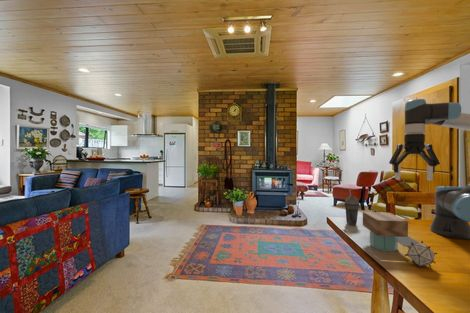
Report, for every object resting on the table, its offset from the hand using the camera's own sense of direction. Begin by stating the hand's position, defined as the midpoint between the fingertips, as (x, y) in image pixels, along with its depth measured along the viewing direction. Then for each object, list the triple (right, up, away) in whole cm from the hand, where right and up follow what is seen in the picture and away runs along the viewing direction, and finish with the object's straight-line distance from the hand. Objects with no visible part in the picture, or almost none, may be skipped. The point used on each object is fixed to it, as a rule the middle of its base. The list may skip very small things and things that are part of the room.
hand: (413, 180), depth 107 cm
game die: (-18, -27, -26) cm, 42 cm away
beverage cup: (-19, -26, +19) cm, 38 cm away
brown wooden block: (-21, -20, -11) cm, 31 cm away
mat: (-7, -27, -4) cm, 28 cm away
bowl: (-21, -27, -11) cm, 36 cm away
